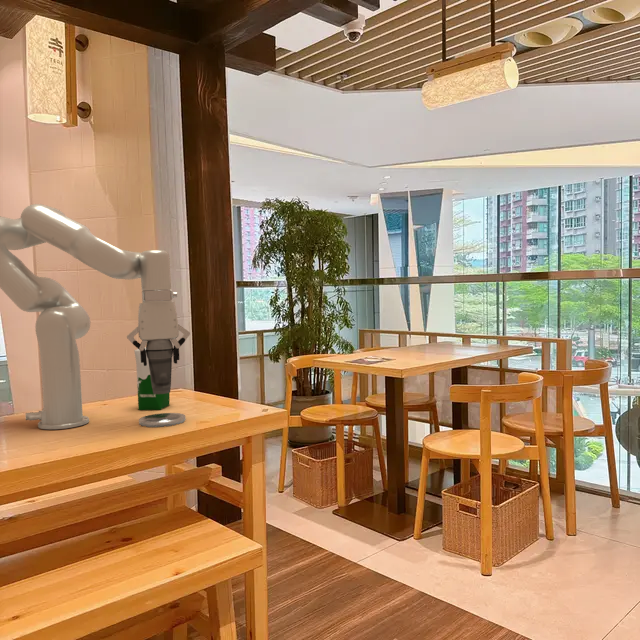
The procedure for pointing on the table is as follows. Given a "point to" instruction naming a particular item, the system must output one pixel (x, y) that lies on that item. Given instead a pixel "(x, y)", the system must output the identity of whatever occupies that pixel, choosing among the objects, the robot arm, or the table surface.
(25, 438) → the table surface
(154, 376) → the beverage cup
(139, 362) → the milk carton
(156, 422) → the flange plate
